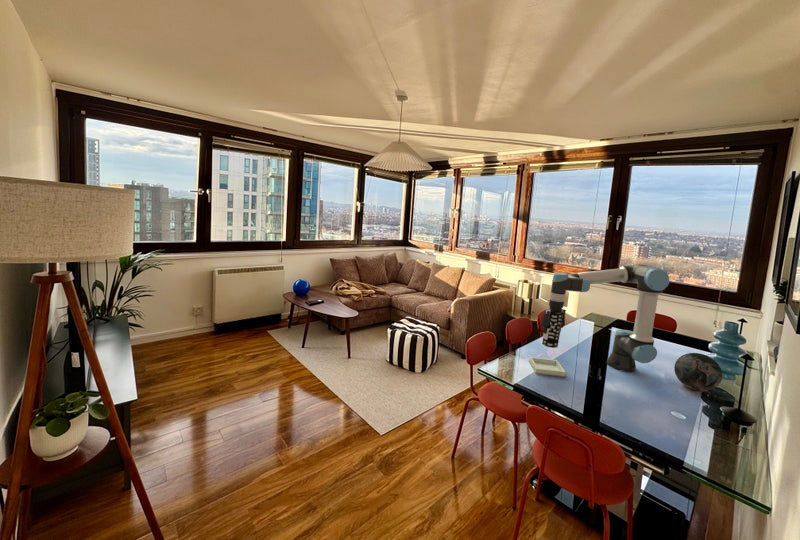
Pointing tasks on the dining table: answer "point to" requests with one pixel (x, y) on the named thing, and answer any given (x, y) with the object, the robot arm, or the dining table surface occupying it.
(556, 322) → the spotted tube
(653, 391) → the dining table surface
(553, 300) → the robot arm
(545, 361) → the tray
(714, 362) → the decorative sphere
